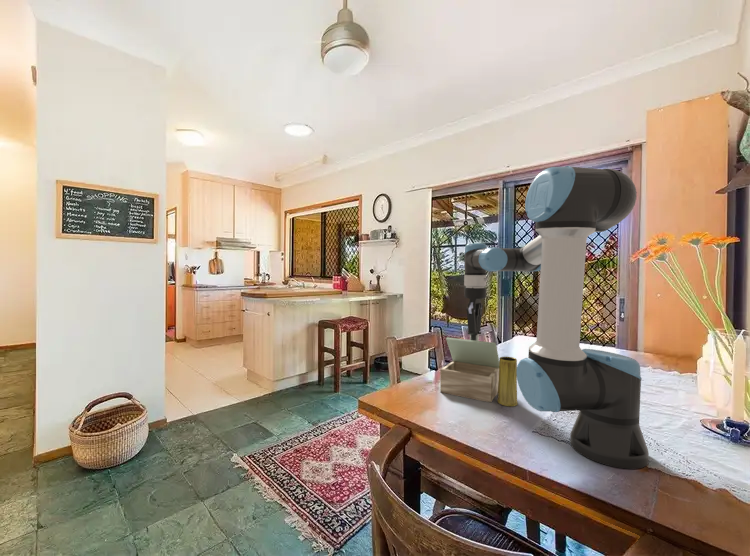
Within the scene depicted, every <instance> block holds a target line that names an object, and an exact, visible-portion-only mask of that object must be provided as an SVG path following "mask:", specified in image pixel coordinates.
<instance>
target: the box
mask: <svg viewBox="0 0 750 556" xmlns="http://www.w3.org/2000/svg"><path fill="white" fill-rule="evenodd" d="M498 383H499V368H497V367H490V366H484V365H477V364H470V363H464V362H457V361H453V360H452V361H450V363H448V364H446V365H444V366H443V367H441V368H440V389H439V391H440V392H439V393H442V394H447V395H452V396H458V397H461V398H468V399H473V400H477V401H481V402H487V403H492V402H493V401H494V399H495V397H496V396H498Z"/></svg>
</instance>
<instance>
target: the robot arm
mask: <svg viewBox="0 0 750 556" xmlns="http://www.w3.org/2000/svg"><path fill="white" fill-rule="evenodd" d="M637 193H638V192H637V187H636V185H635V183H634V182H633V180H632V178H630V176H628V174H626V173H624V172H622V171H620V170H617V169H613V168H592V167H582V166H581V167H578V166H572V165H571V166H570V165H566V166H551V167H548V168H545V169H543V170H542V171H541V172H539V173H538V174H537V175H536V177H535V178H534V179H533V180H532V182H531V183H530V185H529V188H528V190H527V193H526V197H525V202H524V203H525V206H524V209H525V213H526V216H527V218H528V219H529V220H531V221H532V222H534V223H535V229H534V230H535V232H536V233H537V234H538V236H537V237H535V238H534V239H532V240H531V241H529V242H528V243H526V244H525V245H523V247H521V248H515V247H514V248H513V247H512V248H511V247H510V248H509V247H507V248H505V247H502V248H500V247H493V246H491V247H488V246H487V244H486V243H467V244H466V245H465V247H464V275H463V276H464V278H463V281H464V282H463V285H464V289H463V292H464V293H463V294H464V295H463V297H464V298H466V299H469V301H468V303H467V307H466V309H465V311H466V317H467V335H469V340H475V341H480V340H479V339H480V335H482V331H481V328H482V327H481V326H482V316H483V315H482V314H483V307H484V306H483V303H482V301H481V300H484V299H486V298H487V288H486V287H487V281H488V280H489V278H488V277H487V272H527V273H528V272H529V273H532V272H540V273H539V275H540V276H539V288H538V289H539V292H538V307H537V308H538V310H537V326H536V327H537V328H536V341H535V342H534V343H533V344H531V345H530V346H529V347H528V357H525V358H522V359H520V360H519V362H517V384H518V385H517V386H518V388H519V391H520V392H521V393H522V396H523V398H524V400H525V401H526V402H527V404H528V405H529V406H530V407H532V409H534V410H536V411H539V412H549V413H550V412H552V413H559V412H575V411H578V414H577V416H576V419H575V422H574V424H573V426H572V429H571V431H570V438H569V439H570V440H569V442H570V445H571V447H572V448H573V449H574V451H576V452H577V453H579V455H582V456H584V457H585V458H587V459H589V460H591V461H594V462H596V463H598V464H602V465H606V466H609V467H614V468H620V469H628V470H629V469H630V470H634V469H635V470H636V469H642V468H645V467H646V466H648V464H649V450H648V449H649V448H648V447H647V443H646V441H645V438H644V435H643V433H642V429H641V425H640V414H641V412H640V411H641V410H640V408H641V392H642V391H641V388H642V387H641V386H642V379H643V377H641V375H642V374H641V365H640V363H639V362H638V361H637V360H636V359H635V358H632V357H629V356H626V355H624V354H619V353H615V352H610V351H604V350H600V349H593V348H581V347H580V342H581V341H580V340H581V328H582V327H581V326H582V311H583V298H584V297H583V296H584V282H585V281H584V280H585V267H586V252H587V239H588V237H589V236H590V235H592V234H594V233H602V232H605V231H608V230H609V229H612V228H613V227H615V226H616V225H618V224H620V223H621V222H623V220H624V219H626V218H627V217H628V216H629V215H630V213H631V212H632V210H633V209H634V207H635V206H636V202H637V196H638V195H637Z"/></svg>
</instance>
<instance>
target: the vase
mask: <svg viewBox="0 0 750 556" xmlns="http://www.w3.org/2000/svg"><path fill="white" fill-rule="evenodd" d="M517 365H518V360H517V358H515V357H512V356H499V383H498V393H497V399H496V400H497V403H498V404H499V405H500V406H504V407H516V406H518V385H517V384H518V381H517Z"/></svg>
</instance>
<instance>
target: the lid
mask: <svg viewBox="0 0 750 556" xmlns="http://www.w3.org/2000/svg"><path fill="white" fill-rule="evenodd" d="M445 341H446V343H447V346H448V349H449V353H450V355H451V359H452V361H457V362H464V363H470V364H477V365H484V366H490V367H497V368H499V358H500V356H499V353H498V351H499V350H498V348H497V342H491V341H483V340H479V341H475V340H470V339H466V338H465V339H464V338H455V337H446V338H445Z"/></svg>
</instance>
